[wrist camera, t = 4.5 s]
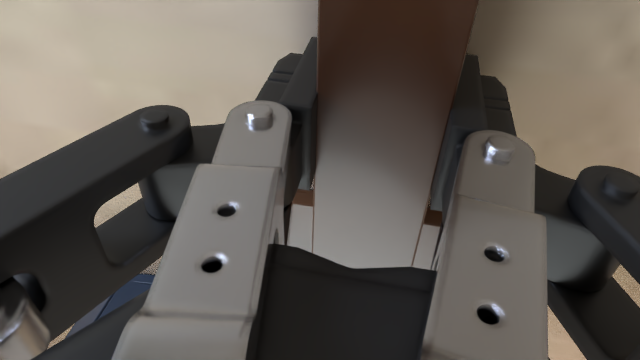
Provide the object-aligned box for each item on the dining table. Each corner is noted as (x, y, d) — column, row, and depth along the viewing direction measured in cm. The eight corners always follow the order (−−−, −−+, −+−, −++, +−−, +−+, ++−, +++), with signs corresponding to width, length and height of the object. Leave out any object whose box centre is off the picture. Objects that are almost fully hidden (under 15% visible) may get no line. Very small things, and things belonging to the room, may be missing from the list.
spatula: (279, -428, 7) (203, -534, 5) (658, -437, 7) (782, -565, 4) (292, 304, 20) (272, 373, 18) (420, 328, 20) (417, 403, 17)
